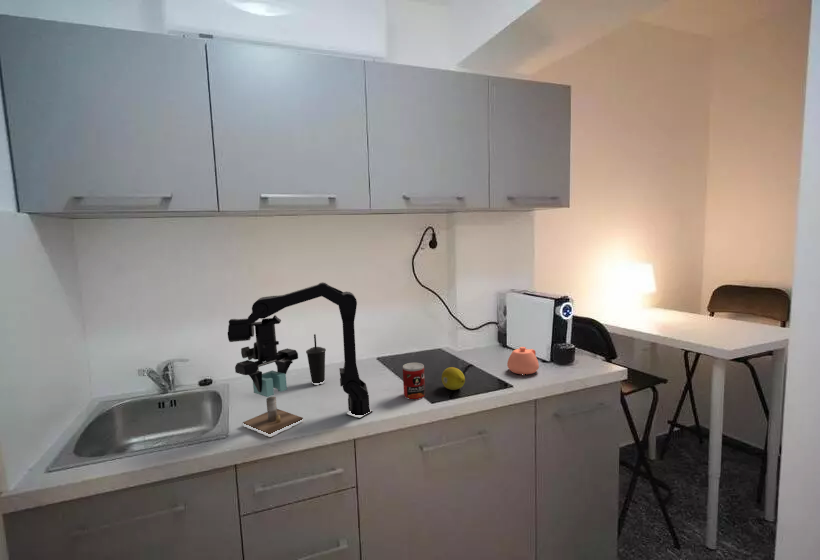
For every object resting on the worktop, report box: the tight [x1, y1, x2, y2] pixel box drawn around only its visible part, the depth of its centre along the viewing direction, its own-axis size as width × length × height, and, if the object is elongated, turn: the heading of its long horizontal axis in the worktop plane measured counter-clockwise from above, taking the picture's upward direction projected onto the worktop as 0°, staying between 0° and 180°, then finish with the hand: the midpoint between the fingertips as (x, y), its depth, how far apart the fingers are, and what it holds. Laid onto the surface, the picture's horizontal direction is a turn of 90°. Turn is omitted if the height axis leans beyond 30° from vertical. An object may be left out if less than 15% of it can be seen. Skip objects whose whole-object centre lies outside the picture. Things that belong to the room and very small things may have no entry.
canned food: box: [402, 362, 426, 400], centre depth 144 cm, size 8×8×11 cm
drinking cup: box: [305, 333, 326, 383], centre depth 161 cm, size 8×8×20 cm
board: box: [242, 396, 304, 434], centre depth 127 cm, size 14×12×8 cm
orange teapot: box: [506, 346, 540, 376], centre depth 164 cm, size 12×14×10 cm
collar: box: [252, 370, 288, 398], centre depth 126 cm, size 7×7×5 cm
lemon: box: [440, 366, 466, 391], centre depth 149 cm, size 11×8×8 cm
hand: (270, 387), depth 126 cm, fingers closed on collar, 7 cm apart
